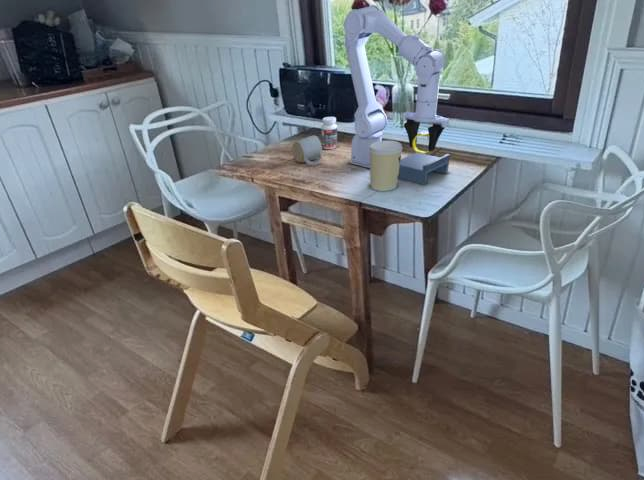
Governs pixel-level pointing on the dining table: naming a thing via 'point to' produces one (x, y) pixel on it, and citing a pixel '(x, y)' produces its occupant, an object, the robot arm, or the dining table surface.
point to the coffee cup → (384, 164)
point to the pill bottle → (329, 133)
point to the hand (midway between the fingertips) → (422, 148)
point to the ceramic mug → (308, 150)
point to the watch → (423, 133)
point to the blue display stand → (422, 166)
